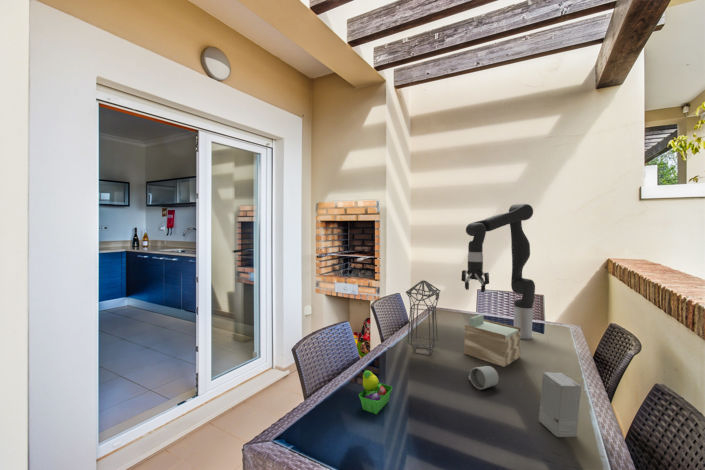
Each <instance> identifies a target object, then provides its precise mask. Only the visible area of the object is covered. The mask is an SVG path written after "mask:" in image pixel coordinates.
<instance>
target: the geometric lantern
mask: <svg viewBox="0 0 705 470" xmlns="http://www.w3.org/2000/svg"><path fill="white" fill-rule="evenodd" d="M418 286H419V287H418ZM417 287H418V288H417ZM425 287H426V288H427V290H425ZM413 290H414V291H416V292H413ZM440 292H441V289H439V288H437V287H436V286H434V285H433V284H431V283H429V282H428V281H427V280H424V279H422V280H420V281H419V282H417V283H416V284H415V285H414V286H412V287H411V288H409V289H407V290H406V291H405V294H406V295H407V297H408V299H409V319H408V329H407V330H408V331H407V341H406V342H407V344H408V345H410V346H411V348H413V353H414V354H418V355H419V354H420V355H426V356H430V355H432V352H433V349H434V348H435V347H436V345H437V344H438V341H439V339H438V338H439V337H438V326H437V325H438V323H437V305H438V302H439V299H440ZM427 293H429V294H427ZM414 295H415V296H416V297H415V296H414ZM418 295H420V296H421V297H420V299H419V298H418ZM434 296H435V299H434V300H433V302H432V301H431V297H434ZM424 297H426V298H424ZM414 299H415V301H414ZM427 299H429V302H430V304H431V305H430V304H427V303H426V300H427ZM421 301H422V302H424V306H426V308H427V309H423V308H419V306H423V304H421V303H420V302H421ZM416 302H417V303H416ZM412 303H413V304H412ZM434 304H435V305H434ZM415 307H416V308H415ZM430 307H431V308H430ZM415 310H416V318H415ZM419 311H427V312H428V337H424V336H423V337H422V336H418V320H419V318H418V317H419ZM430 312H431V319H430ZM415 319H416V320H415ZM430 320H432V321H431V322H432V337H431V322H430ZM415 321H416V325H415V336H413V335H414V322H415ZM435 334H436V335H435ZM435 336H436V338H435ZM417 338H418V339H425V340H428V343H422V344H421V343H418V339H417ZM431 340H432V341H431ZM432 343H433V344H432ZM417 350H421V351H428V353H424V352H423V353H422V352H417Z"/></svg>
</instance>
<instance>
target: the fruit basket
mask: <svg viewBox="0 0 705 470" xmlns="http://www.w3.org/2000/svg"><path fill="white" fill-rule="evenodd" d="M362 386H363V388H364V389H363V390H362V391H361V392H359V394H358V397H359V400H360V402H361V403H360V404H361V406H362V407H361V408H362V410H363V411H366V412H368V413H373V414H375V415H378V413H379V412H380V411H381V410H382V409H383V408H384V407H385V406H386V404H387V403H389V400H390V397H391V396H390V395H391V393H392V390H393V386H391V385H387V384H385V383H381V382H380V381H379V379H378V377H377V376H376V375H375V374H374V373H373V372H372V371H370V370H367V369H366V370H364V372H363V374H362Z"/></svg>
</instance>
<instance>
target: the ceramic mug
mask: <svg viewBox="0 0 705 470" xmlns="http://www.w3.org/2000/svg"><path fill="white" fill-rule="evenodd" d="M499 377H500V376H499V373H498V372H497V370H496V369H495V368H494V367H493V366H489V365H484V366H477V367H473V368H471V370H470V372H469V375H468V380H469V381H471V384H472V385H473V386H474V387H475V388H477V389H478V390H485V389H488V388H491V387H494V386H496V385H497V384H499V383H498V382H499V379H500V378H499Z"/></svg>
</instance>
